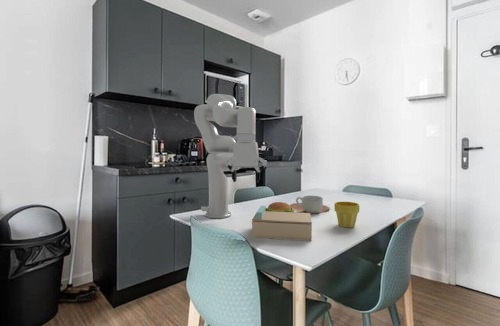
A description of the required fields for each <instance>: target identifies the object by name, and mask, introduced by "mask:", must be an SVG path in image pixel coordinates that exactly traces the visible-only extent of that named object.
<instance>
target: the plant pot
mask: <svg viewBox="0 0 500 326" xmlns="http://www.w3.org/2000/svg"><path fill="white" fill-rule="evenodd" d="M333 209H334V212H335V213H336V218H337V222H338V226H339V227H343V228H347V229H349V228H354V227H355V226H356V222H357V218H358V213H360V204H359V203H357V202H353V201H336V202H334V208H333Z"/></svg>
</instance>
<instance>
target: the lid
mask: <svg viewBox="0 0 500 326" xmlns="http://www.w3.org/2000/svg"><path fill="white" fill-rule="evenodd" d="M266 208H267V207H266V205H260V206H259V208H258V210H257V211H256V213H255V214H254V216H253V217H252V219H251V222H252V221H265V222H284V223H303V224H312V223H313V222H312V216H311V213H307V212H297V211H296V212H295V211H294V212H274V211H266Z"/></svg>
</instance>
